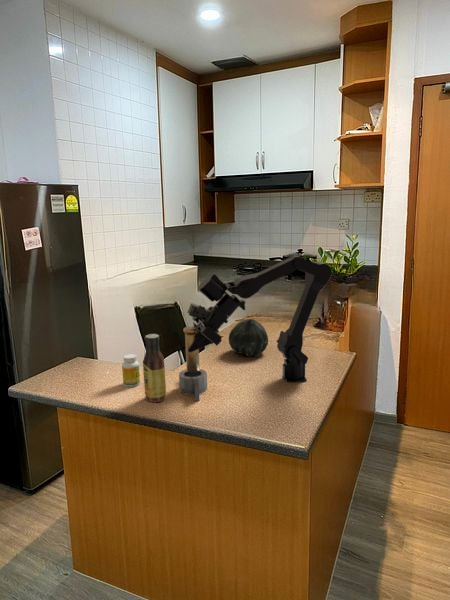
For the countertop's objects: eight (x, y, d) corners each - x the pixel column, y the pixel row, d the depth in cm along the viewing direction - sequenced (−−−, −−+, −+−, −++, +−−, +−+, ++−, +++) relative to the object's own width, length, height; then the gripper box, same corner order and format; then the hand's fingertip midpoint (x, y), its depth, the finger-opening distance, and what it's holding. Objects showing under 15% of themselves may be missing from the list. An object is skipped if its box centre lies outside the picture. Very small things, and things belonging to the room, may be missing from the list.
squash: (240, 331, 182) (231, 310, 171) (275, 335, 176) (268, 314, 165) (229, 361, 175) (219, 341, 163) (265, 367, 169) (258, 346, 158)
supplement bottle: (125, 381, 146) (123, 353, 144) (141, 380, 147) (139, 353, 145) (122, 387, 141) (119, 359, 139) (138, 387, 141) (136, 358, 139)
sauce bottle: (146, 395, 135) (142, 332, 131) (166, 393, 136) (163, 331, 132) (144, 404, 129) (139, 338, 125) (165, 403, 129) (162, 337, 125)
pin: (203, 367, 138) (202, 327, 135) (196, 372, 134) (194, 331, 131) (190, 365, 140) (188, 325, 137) (182, 370, 136) (180, 329, 133)
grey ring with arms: (177, 379, 147) (176, 364, 146) (202, 376, 149) (201, 362, 148) (183, 402, 129) (182, 386, 128) (211, 399, 131) (211, 383, 130)
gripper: (197, 288, 142) (165, 325, 141) (209, 300, 124) (171, 341, 124) (222, 310, 145) (190, 346, 145) (236, 325, 127) (200, 365, 127)
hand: (187, 349), depth 135 cm, fingers closed on pin, 4 cm apart
